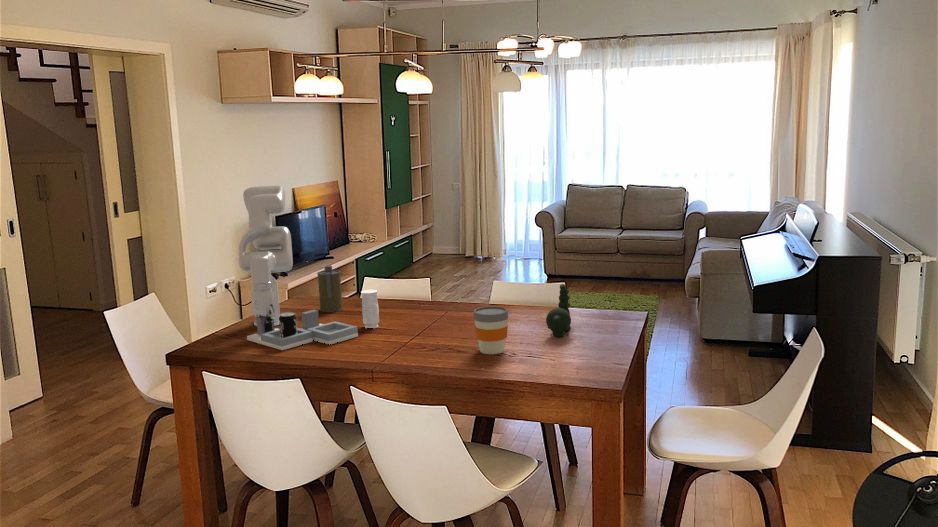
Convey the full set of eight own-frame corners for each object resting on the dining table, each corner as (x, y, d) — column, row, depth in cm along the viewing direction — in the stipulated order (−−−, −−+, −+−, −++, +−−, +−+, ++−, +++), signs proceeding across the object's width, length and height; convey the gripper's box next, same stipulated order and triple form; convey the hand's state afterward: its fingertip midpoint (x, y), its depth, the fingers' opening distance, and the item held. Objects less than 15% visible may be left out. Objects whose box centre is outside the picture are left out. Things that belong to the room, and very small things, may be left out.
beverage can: (294, 346, 293) (291, 316, 291) (278, 346, 295) (275, 315, 292) (301, 341, 299) (298, 311, 297) (285, 341, 301) (283, 311, 299)
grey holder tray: (247, 339, 304) (245, 319, 303) (277, 331, 314) (275, 311, 313) (282, 350, 288) (280, 328, 287) (312, 341, 298) (311, 320, 297)
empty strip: (292, 334, 309) (290, 314, 307) (320, 327, 319) (319, 307, 317) (329, 344, 293) (328, 323, 291) (358, 336, 303) (356, 315, 302)
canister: (320, 307, 354) (317, 264, 350) (343, 305, 355) (340, 263, 351) (318, 313, 343) (315, 269, 339) (342, 311, 344) (339, 268, 340)
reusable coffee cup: (475, 345, 285) (473, 306, 283) (508, 344, 285) (507, 305, 282) (474, 356, 273) (472, 315, 270) (509, 355, 273) (508, 314, 270)
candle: (369, 330, 312) (366, 294, 310) (359, 326, 318) (357, 291, 315) (383, 326, 317) (381, 291, 314) (373, 323, 322) (371, 288, 319)
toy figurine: (553, 328, 311) (543, 340, 287) (552, 282, 309) (542, 290, 285) (576, 329, 308) (568, 341, 284) (576, 282, 306) (568, 291, 282)
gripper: (242, 285, 306) (246, 330, 310) (265, 290, 295) (269, 336, 299) (258, 282, 312) (262, 326, 315) (282, 287, 301) (286, 332, 304)
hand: (266, 330), depth 307 cm, fingers closed on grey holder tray, 3 cm apart
